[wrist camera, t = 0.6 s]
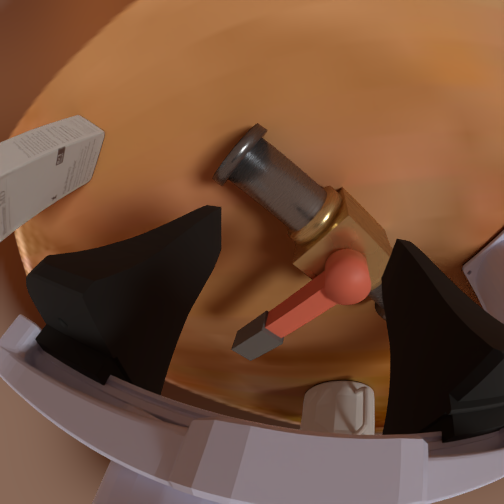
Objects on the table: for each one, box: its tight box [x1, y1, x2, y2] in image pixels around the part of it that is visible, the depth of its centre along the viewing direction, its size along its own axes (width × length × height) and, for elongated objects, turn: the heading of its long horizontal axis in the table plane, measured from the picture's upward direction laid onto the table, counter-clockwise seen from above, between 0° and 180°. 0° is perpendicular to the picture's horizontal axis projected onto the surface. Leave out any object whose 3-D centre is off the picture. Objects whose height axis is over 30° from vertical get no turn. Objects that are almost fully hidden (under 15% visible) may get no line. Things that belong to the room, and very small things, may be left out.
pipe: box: [212, 123, 386, 320], centre depth 19 cm, size 18×5×5 cm, turn 53°
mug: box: [300, 381, 374, 435], centre depth 31 cm, size 14×11×10 cm
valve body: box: [288, 186, 393, 291], centre depth 19 cm, size 7×5×5 cm
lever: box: [231, 249, 371, 361], centre depth 19 cm, size 12×3×2 cm, turn 143°
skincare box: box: [0, 115, 104, 241], centre depth 16 cm, size 6×4×12 cm
